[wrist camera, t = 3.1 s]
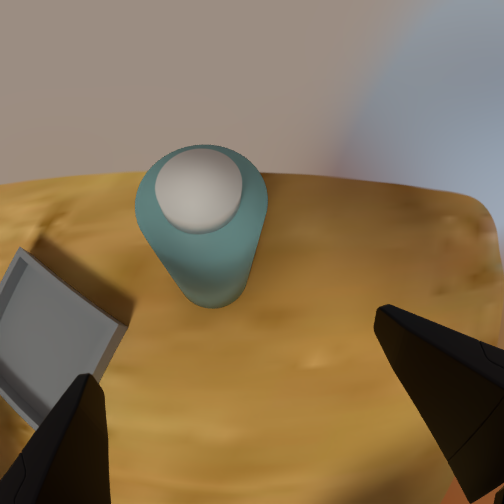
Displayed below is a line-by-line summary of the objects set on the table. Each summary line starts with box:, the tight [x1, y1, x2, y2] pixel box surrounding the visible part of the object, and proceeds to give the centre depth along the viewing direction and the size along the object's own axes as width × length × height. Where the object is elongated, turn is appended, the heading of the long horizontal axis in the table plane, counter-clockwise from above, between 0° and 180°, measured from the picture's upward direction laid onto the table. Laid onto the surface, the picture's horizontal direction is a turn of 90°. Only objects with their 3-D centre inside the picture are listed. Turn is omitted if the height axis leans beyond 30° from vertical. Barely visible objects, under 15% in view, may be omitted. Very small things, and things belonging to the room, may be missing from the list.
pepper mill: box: [135, 145, 268, 309], centre depth 16 cm, size 5×5×12 cm
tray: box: [0, 247, 128, 431], centre depth 17 cm, size 11×11×2 cm
